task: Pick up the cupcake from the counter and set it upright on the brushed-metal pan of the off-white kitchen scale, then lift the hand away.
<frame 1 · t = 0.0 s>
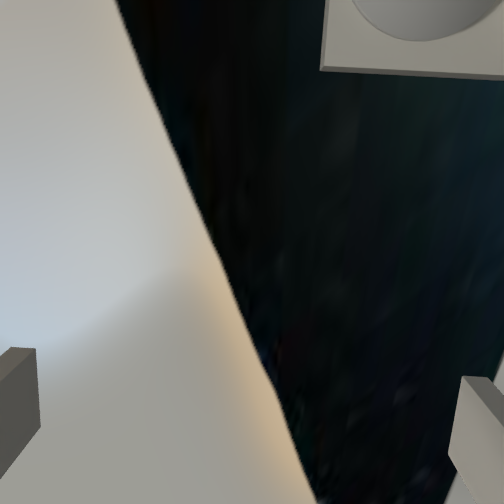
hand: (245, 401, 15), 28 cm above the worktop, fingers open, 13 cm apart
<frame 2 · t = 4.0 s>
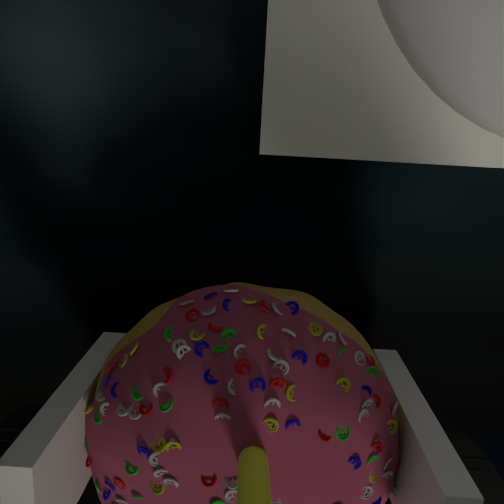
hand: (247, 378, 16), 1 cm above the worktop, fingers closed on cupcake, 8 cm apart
cupcake: (250, 357, 17), on the worktop, touching gripper
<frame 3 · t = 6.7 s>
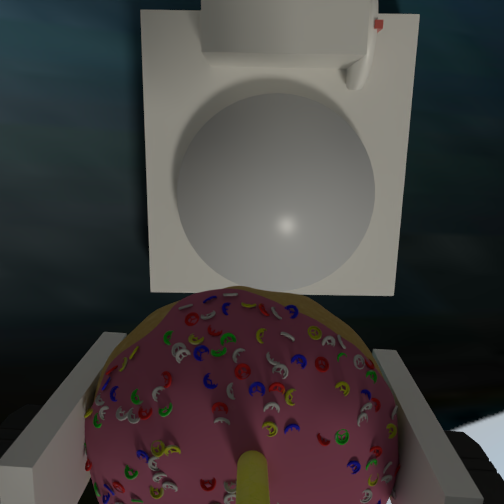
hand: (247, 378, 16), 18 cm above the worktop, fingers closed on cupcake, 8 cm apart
scale: (273, 160, 32), on the worktop
cupcake: (249, 359, 17), point 17 cm above the worktop, touching gripper
when the fingers open (7 cm above the worktop, at t = 9.5 s): cupcake drops 1 cm, resting on scale.
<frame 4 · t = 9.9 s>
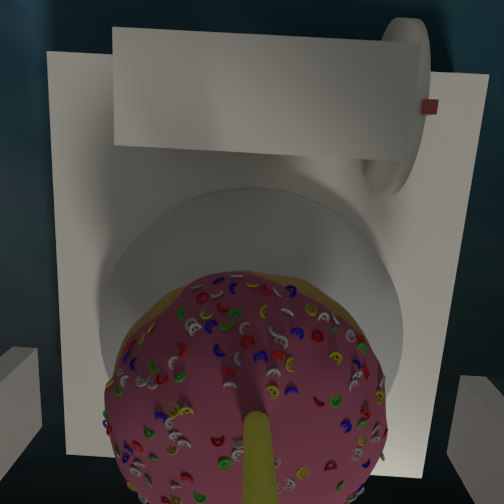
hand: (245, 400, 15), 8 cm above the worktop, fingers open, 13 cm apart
scale: (255, 266, 22), on the worktop
cupcake: (251, 342, 19), point 4 cm above the worktop, touching scale
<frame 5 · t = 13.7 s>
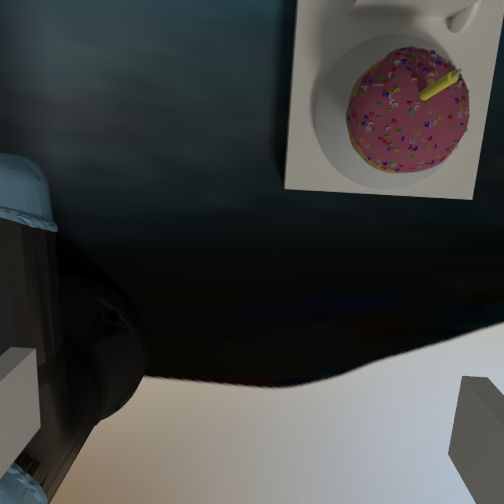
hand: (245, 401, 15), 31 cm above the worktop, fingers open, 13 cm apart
scale: (381, 92, 41), on the worktop
cupcake: (390, 116, 38), point 4 cm above the worktop, touching scale
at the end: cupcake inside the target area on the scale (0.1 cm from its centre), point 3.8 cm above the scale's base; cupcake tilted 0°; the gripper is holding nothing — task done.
